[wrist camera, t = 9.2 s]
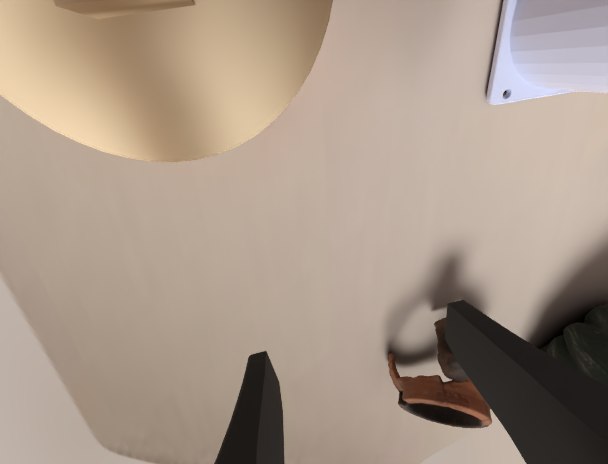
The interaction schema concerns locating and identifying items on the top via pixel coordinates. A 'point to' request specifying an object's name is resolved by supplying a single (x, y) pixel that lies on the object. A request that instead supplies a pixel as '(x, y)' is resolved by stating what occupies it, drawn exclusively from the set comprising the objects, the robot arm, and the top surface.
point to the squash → (584, 345)
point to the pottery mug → (442, 391)
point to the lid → (158, 69)
